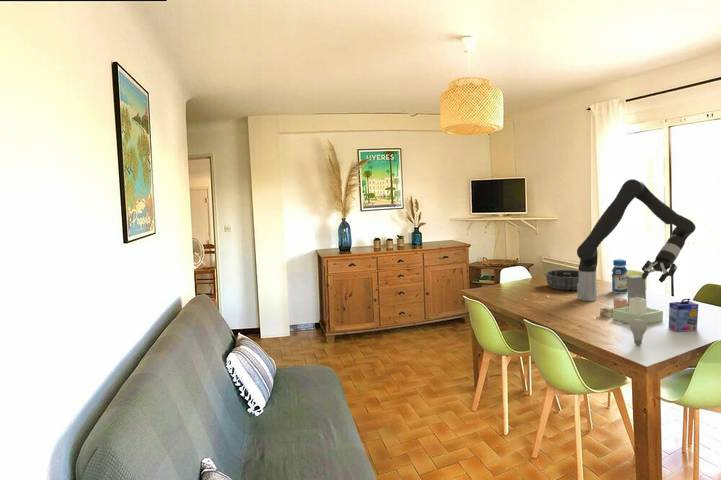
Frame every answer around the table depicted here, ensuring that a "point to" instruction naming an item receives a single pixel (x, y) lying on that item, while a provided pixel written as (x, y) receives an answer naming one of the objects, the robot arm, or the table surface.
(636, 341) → the lightbulb
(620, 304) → the reddish brown block
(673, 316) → the ink cartridge box
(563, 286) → the bundt pan
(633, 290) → the skincare box
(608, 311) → the beech block
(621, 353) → the table surface
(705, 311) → the table surface
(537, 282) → the table surface
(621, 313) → the tub
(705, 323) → the table surface
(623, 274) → the beverage bottle
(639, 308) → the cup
